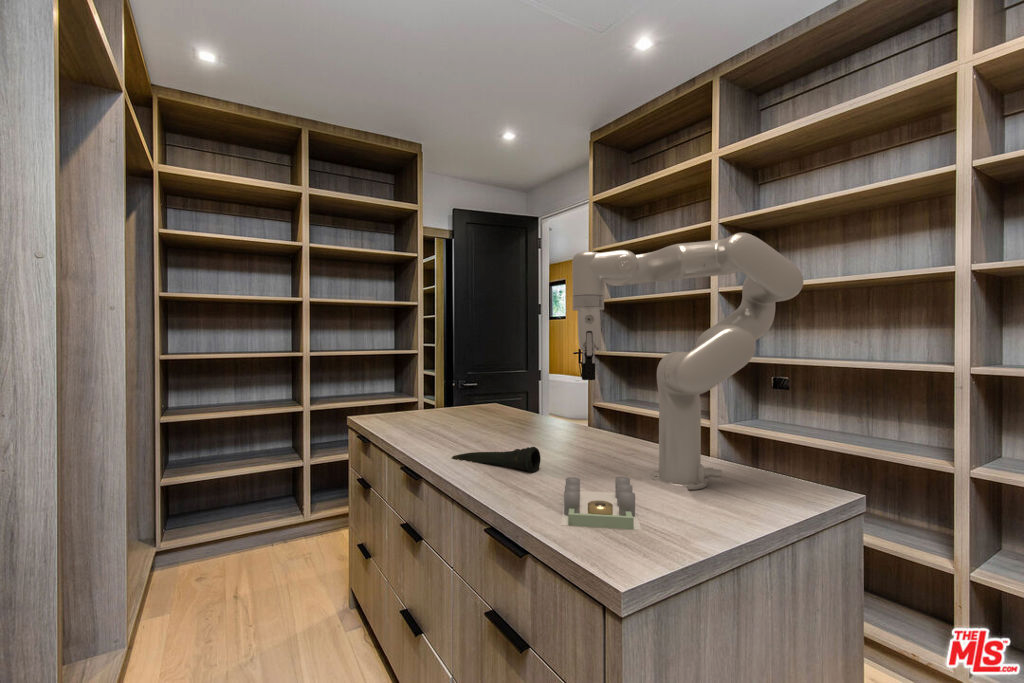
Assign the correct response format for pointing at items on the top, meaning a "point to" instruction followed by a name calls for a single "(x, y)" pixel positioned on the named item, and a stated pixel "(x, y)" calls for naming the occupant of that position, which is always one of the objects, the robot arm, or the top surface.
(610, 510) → the gold short round piece
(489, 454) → the tool
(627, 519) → the board
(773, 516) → the top surface
